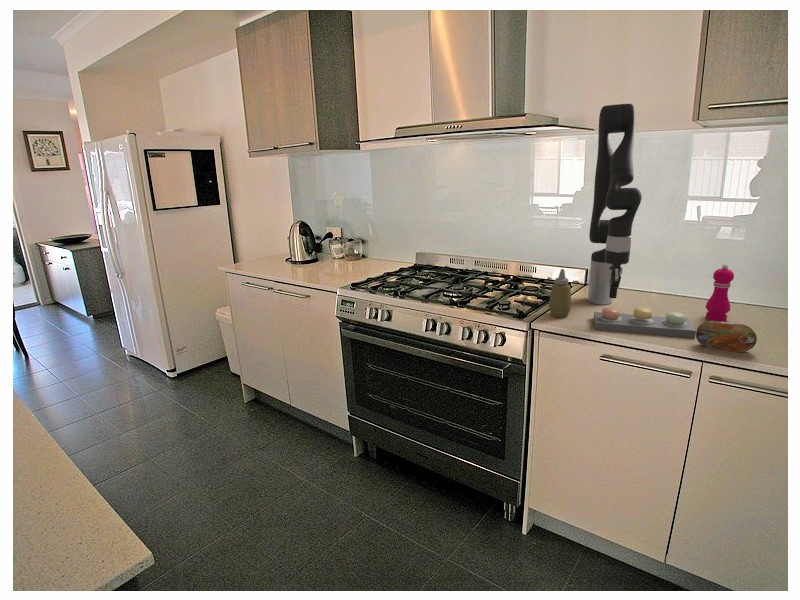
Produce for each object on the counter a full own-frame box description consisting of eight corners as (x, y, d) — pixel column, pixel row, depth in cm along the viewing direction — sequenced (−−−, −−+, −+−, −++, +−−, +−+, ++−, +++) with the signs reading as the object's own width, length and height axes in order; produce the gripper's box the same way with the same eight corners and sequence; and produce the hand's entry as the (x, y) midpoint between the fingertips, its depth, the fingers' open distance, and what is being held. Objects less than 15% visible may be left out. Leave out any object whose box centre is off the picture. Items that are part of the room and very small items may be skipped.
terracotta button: (601, 313, 165) (601, 307, 164) (618, 314, 163) (619, 308, 162) (602, 318, 160) (602, 312, 159) (619, 319, 158) (620, 313, 157)
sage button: (664, 318, 158) (665, 311, 158) (682, 319, 156) (683, 312, 156) (667, 323, 153) (668, 316, 153) (686, 324, 151) (687, 318, 151)
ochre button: (632, 313, 161) (633, 306, 161) (650, 314, 160) (651, 308, 159) (634, 318, 156) (635, 311, 156) (652, 319, 155) (653, 313, 154)
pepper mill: (732, 322, 161) (742, 266, 155) (709, 321, 162) (718, 266, 156) (722, 315, 167) (732, 262, 162) (700, 315, 169) (709, 261, 163)
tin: (693, 346, 143) (698, 320, 140) (693, 342, 146) (698, 317, 143) (753, 354, 136) (759, 328, 133) (752, 350, 138) (758, 324, 136)
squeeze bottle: (544, 316, 174) (546, 269, 168) (554, 310, 179) (557, 265, 174) (564, 320, 168) (568, 273, 163) (574, 315, 174) (578, 268, 168)
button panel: (593, 318, 170) (594, 311, 169) (686, 325, 159) (687, 318, 159) (594, 329, 159) (595, 322, 158) (694, 337, 149) (696, 330, 148)
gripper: (604, 244, 162) (599, 291, 167) (606, 252, 150) (601, 302, 155) (628, 245, 159) (622, 292, 164) (632, 253, 147) (626, 304, 153)
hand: (612, 297), depth 160 cm, fingers closed
